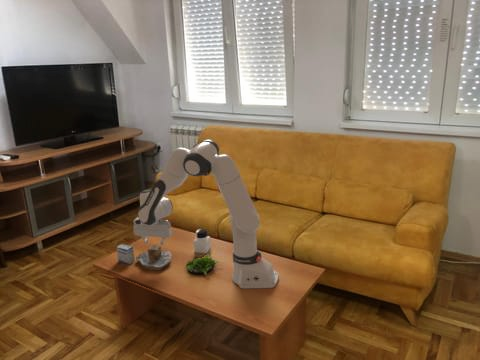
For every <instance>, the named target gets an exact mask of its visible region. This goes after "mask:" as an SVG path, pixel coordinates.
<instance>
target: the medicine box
mask: <svg viewBox="0 0 480 360" xmlns="http://www.w3.org/2000/svg"><path fill="white" fill-rule="evenodd" d="M116 255H117V260H118V262H119V263H122V264H127V265H131V264H132V263H134V262H135V260H136V258H135V252H134V246H132V245H127V244H123V243H121V244H119V245H118V246H116Z"/></svg>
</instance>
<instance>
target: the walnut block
mask: <svg viewBox="0 0 480 360" xmlns="http://www.w3.org/2000/svg"><path fill="white" fill-rule="evenodd" d="M161 250H162V247H161V244H160V245H159V244H151V245H150V246H149V247H148V249H147V252H148V255H149V260H158V259H159V258H160V257H161V256H162V254H161Z"/></svg>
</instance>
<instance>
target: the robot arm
mask: <svg viewBox="0 0 480 360" xmlns="http://www.w3.org/2000/svg"><path fill="white" fill-rule="evenodd" d="M210 174H212V175H213V177H214V179H215V183H216V184H217V186H218V189H219V191H220V194H221V195H222V198H223V200H224V202H225V205H226V206H227V209H228V210H229V218H230V227H231V232H232V233H231V234H232V242H233V243H232V245H233V252H232V261H233V262H232V263H233V271H232V276H231V281H232V282H233V283H234V284H236V285H238V287H239V288H240V289H272V288H274V287H275V286H276V285H277V284H278V281H279V273H278V272H277V271H276V270H274V268H273V265H272V263H270V262H269V261H268V260H265V259H264V258H263V257H262V251H259V250H258V246H257V245H258V243H257V238H258V237H257V234H256V231H257V230H258V229H259V228H260V216H259V213H258V212H257V208H256V207H255V205H254V203H253V201H252V199H251V196H250V194H249V192H248V190H247V188H246V185H245V183H244V180H243V178H242V175H241V174H240V171H239V168H238V167H237V165H236V163H235V161H234V160H233V158H232V157H231V156H230V155H228V154H224V153H223V154H220V148H219V145H218V143H216V142H215V141H214V140H212V139H205V140H201V141H200V142H198V143H196V144H195V145H193V147H192V148H191V149H188V148H186V147H176V148H175V149H174V150H173V151H172V153H171V154H170V156H169V158H168V160H167V161H166V164H165V167H164V169H163V170H162V172H161V173H160V175H159V177H158V178H157V180H156V181H155V183H154V184H153V186H152V188H148V189H145V190H142V191H141V192H140V193H139V204H140V205H139V207H138V210H137V217H136V218H135V219H134V220H133V228H132V229H133V234H134V235H135V236H137V237H140V238H141V239H142V240H143V243H144V244H148V243H149V240H148V239H147V238H146V237H150V238H151V237H153V238H161V239H162V240H160V245H165V243H166V241H165V240H166V238H171V236H172V235H173V229H172V224H171V222H170V221H169V220H168V219H164V218H165V217H168V216H170V215H171V214H172V213H173V210H174V205H173V202H172V200H171V199H170V198H168V197H167V196H166V195H167V194H169V193H170V192H172V191H174V190H175V189H177V188H179V187H181V186H182V185H183V184H184V183H185V181H186V180H187V178H188V176H192V177H201V176H204V177H207V176H209V175H210Z"/></svg>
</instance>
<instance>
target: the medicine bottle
mask: <svg viewBox="0 0 480 360" xmlns="http://www.w3.org/2000/svg"><path fill="white" fill-rule="evenodd" d="M207 231H208V230H207V229H205V228H201V229H200V228H199V229H197V230H196V231H195V239H194V240H193V249H194V253H199V254H207V253H208V252H209V251H210V249H211V248H212V245H211V236H209V235H208V232H207Z"/></svg>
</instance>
